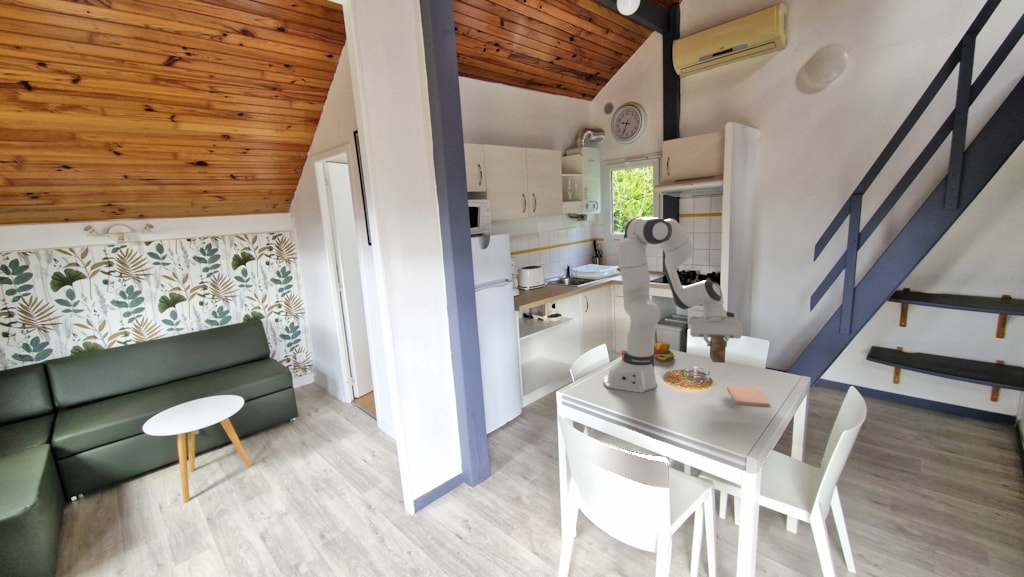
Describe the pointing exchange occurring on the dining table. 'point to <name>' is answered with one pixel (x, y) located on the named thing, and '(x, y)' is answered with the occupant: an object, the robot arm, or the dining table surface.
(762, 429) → the dining table surface
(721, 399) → the dining table surface
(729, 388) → the mat
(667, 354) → the cheeseburger
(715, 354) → the card box
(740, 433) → the dining table surface
